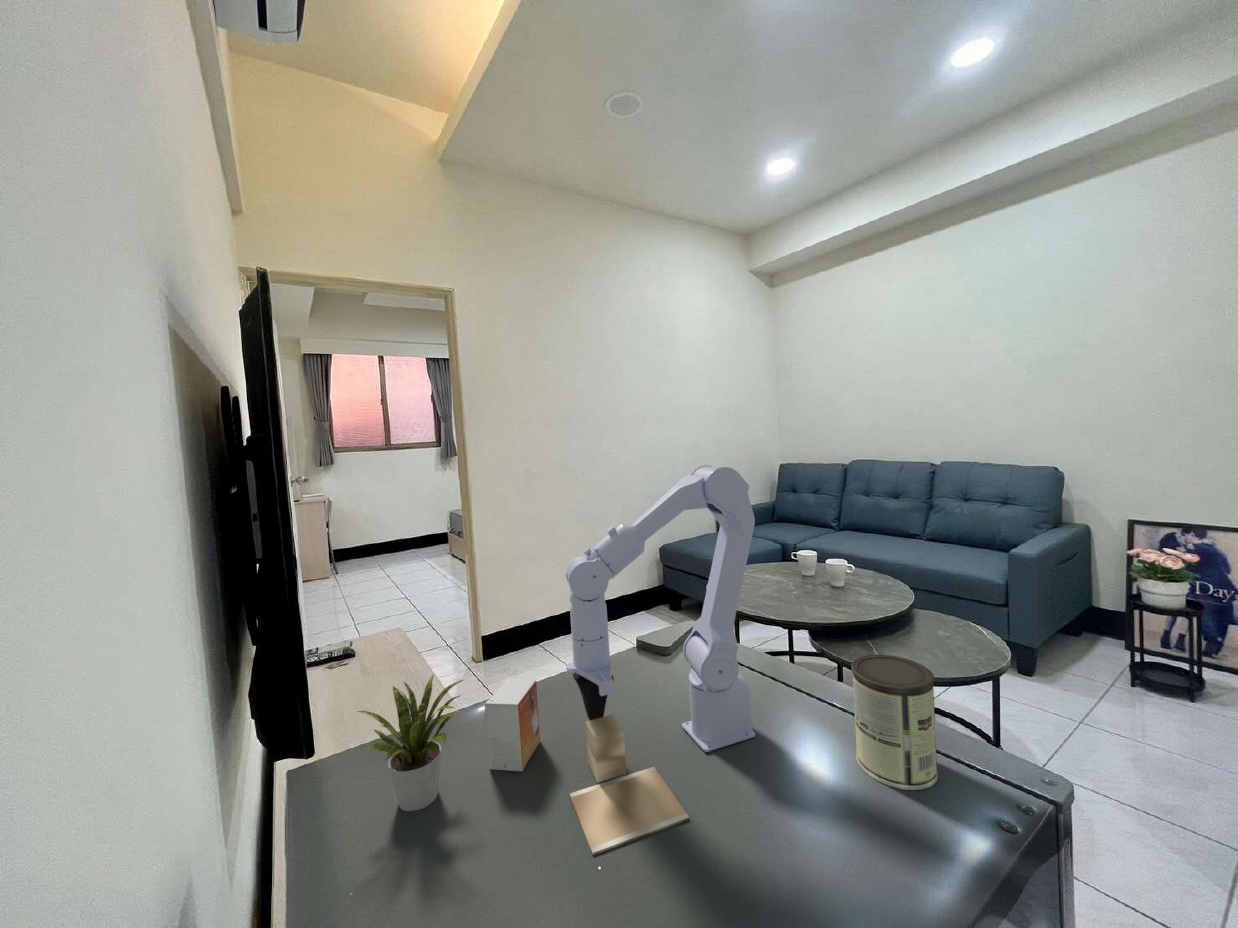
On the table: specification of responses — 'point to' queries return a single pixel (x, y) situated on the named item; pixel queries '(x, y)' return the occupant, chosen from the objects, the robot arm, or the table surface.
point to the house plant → (414, 747)
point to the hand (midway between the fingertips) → (595, 718)
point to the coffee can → (895, 721)
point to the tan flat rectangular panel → (626, 809)
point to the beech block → (606, 749)
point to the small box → (512, 725)
